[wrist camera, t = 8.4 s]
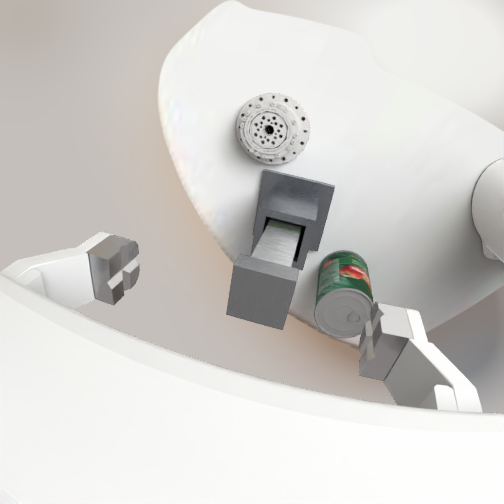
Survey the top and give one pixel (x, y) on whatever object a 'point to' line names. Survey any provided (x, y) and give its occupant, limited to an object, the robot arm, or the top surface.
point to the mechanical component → (285, 115)
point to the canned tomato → (343, 295)
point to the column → (266, 277)
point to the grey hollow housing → (294, 209)
